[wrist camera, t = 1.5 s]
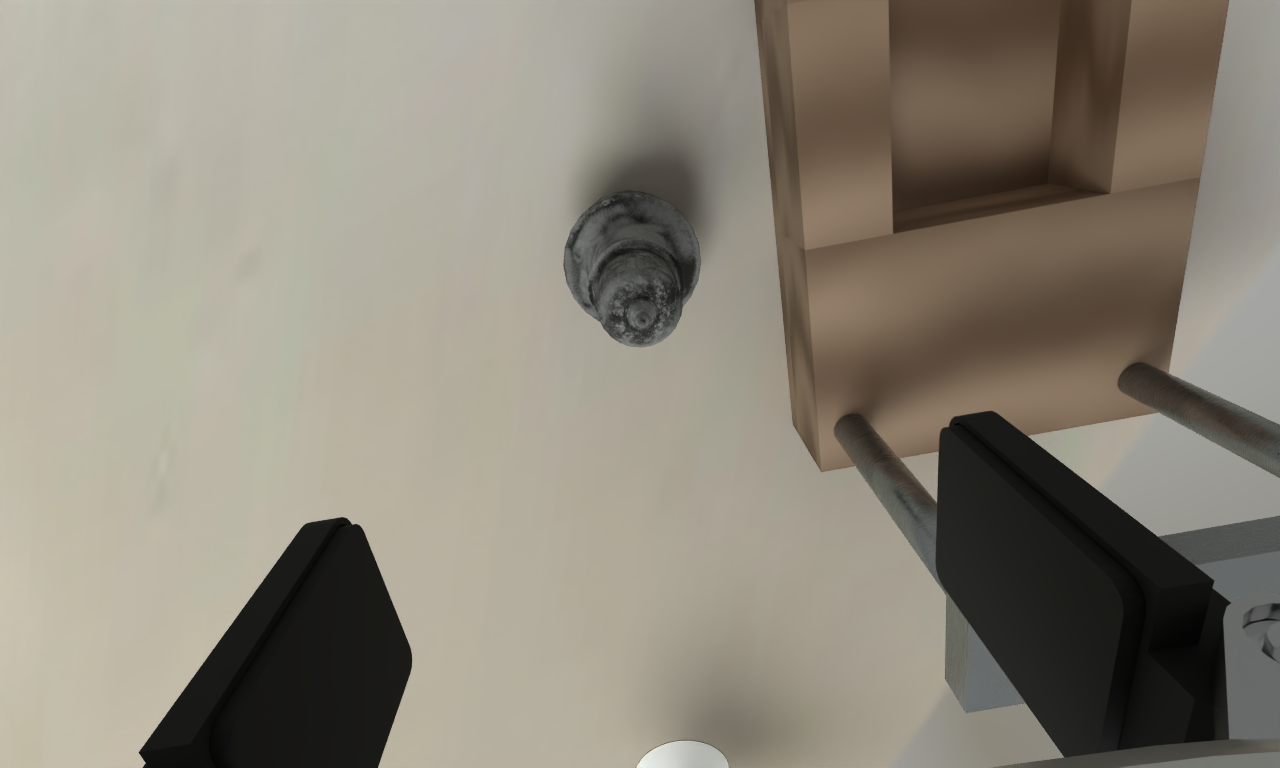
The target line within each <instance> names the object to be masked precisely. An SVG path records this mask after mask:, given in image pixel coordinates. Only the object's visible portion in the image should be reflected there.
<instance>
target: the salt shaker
mask: <svg viewBox="0 0 1280 768" xmlns="http://www.w3.org/2000/svg"><path fill="white" fill-rule="evenodd" d="M700 265H701V259H700V249H699V243H698V241H697V238H696V236H695V233H694V231H693V228H692V227H691V225H690V224H689V223H688V221H687V220H686V219H685V217H684V216H683V215H682V213H681V212H679V211H678V210H677V209H676V208H674V207H673V206H672V205H670V204H669V203H668V202H666V201H664V200H661V199H659V198H657V197H654V196H652V195H648V194H646V193H644V192H635V191H624V192H617V193H613V194H611V195H608V196H606V197H604V198H602V199H600V200H599V201H598V202H596V203H595V204H594V205H593V206H592V207H590V208H589V209H588V210H587V211H586V212H584V213H583V214H582V215H581V217H580V218H579V219H578V221H577V222H576V224H575V225H574V227H573V228H572V229H571V232H570V235H569V237H568V240H567V243H566V246H565V253H564V270H565V276H566V281H567V284H568V286H569V288H570V290H571V292H572V295H573V297H574V299H575V300H576V301H577V302H578V303H579V305H580V306H581V307H582V308H583V309H584V310H585V312H587V313H588V314H589V315H591V316H592V317H594V318H595V319H597V320H598V321H600V322H601V324H602V326H603V328H604V329H605V330H606V332H607V333H608V334H609V335H610V336H611V337H612V338H613V339H615V340H616V341H618V342H619V343H622V344H625V345H627V346H631V347H646V346H652V345H654V344H656V343H659V342H661V341H662V340H664V339H665V338H666V337H668V336H669V335H670V334H671V333H672V331H673V330H674V329H675V328H676V326H677V324H678V322H679V319H680V317H681V313H682V307H683V306H684V304H685V303H686V302H687V301H688V299H689V298H690V297H691V295H692V293H693V291H694V288H695V286H696V284H697V282H698V278H699V272H700Z"/></svg>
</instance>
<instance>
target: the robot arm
mask: <svg viewBox="0 0 1280 768" xmlns="http://www.w3.org/2000/svg"><path fill="white" fill-rule="evenodd" d="M935 563H936V570H937V574H938V577H939V580H940V582H941V584H942V586H943V587H944V589H945V590H946V592H947V593H948V595H949V596H950V597H951V599H952V600H953V602H954V603H955V604H956V606H957V607H958V609H959V610H960V611H961V613H962V614H963V616H964V617H965V618H966V620H967V621H968V623H969V624H970V625H971V627H972V628H973V630H974V631H975V632H976V634H977V635H978V637H979V638H980V639H981V641H982V642H983V644H984V645H985V647H986V648H987V649H988V651H989V652H990V654H991V655H992V656H993V658H994V659H995V661H996V662H997V663H998V665H999V666H1000V668H1001V669H1002V670H1003V672H1004V673H1005V675H1006V676H1007V677H1008V679H1009V680H1010V682H1011V683H1012V684H1013V686H1014V687H1015V689H1016V690H1017V691H1018V693H1019V694H1020V696H1021V697H1022V698H1023V700H1024V701H1025V703H1026V704H1027V705H1028V707H1029V708H1030V710H1031V711H1032V712H1033V714H1034V715H1035V717H1036V718H1037V719H1038V721H1039V722H1040V724H1041V725H1042V727H1043V728H1044V729H1045V731H1046V732H1047V733H1048V735H1049V736H1050V738H1051V739H1052V741H1053V742H1054V743H1055V745H1056V746H1057V748H1058V749H1059V750H1060V752H1061V753H1062V755H1063V756H1064V757H1065V758H1059V759H1051V760H1043V761H1036V762H1028V763H1020V764H1013V765H1007V766H1000V767H993V768H1280V594H1254V595H1249V596H1245V597H1241V598H1238V599H1236V600H1235V601H1234V602H1232V603H1231V602H1230V601H1228V600H1227V599H1226V598H1225V597H1223V596H1222V595H1221V594H1219V593H1218V592H1217V591H1216V590H1214V589H1213V585H1214V581H1215V580H1213V579H1212V578H1211V577H1209V576H1208V575H1207V574H1206V573H1204V572H1203V571H1202V570H1200V569H1199V568H1198V567H1196V566H1195V565H1194V564H1193V563H1191V562H1190V561H1189V560H1187V559H1186V558H1185V557H1183V556H1182V555H1181V554H1180V553H1178V552H1177V551H1176V550H1174V549H1173V548H1172V547H1170V546H1169V545H1168V544H1167V543H1165V542H1164V541H1163V540H1161V539H1160V538H1159V537H1157V536H1156V535H1155V534H1153V533H1152V532H1151V531H1150V530H1148V529H1147V528H1146V527H1144V526H1143V525H1142V524H1140V523H1139V522H1138V521H1137V520H1135V519H1134V518H1133V517H1131V516H1130V515H1129V514H1128V513H1126V512H1125V511H1124V510H1122V509H1121V508H1119V507H1118V506H1117V505H1116V504H1114V503H1113V502H1112V501H1111V500H1109V499H1108V498H1107V497H1105V496H1104V495H1103V494H1102V493H1100V492H1099V491H1098V490H1096V489H1095V488H1094V487H1092V486H1091V485H1090V484H1089V483H1087V482H1086V481H1085V480H1083V479H1082V478H1081V477H1079V476H1078V475H1077V474H1076V473H1074V472H1073V471H1072V470H1070V469H1069V468H1068V467H1066V466H1065V465H1064V464H1063V463H1061V462H1060V461H1059V460H1057V459H1056V458H1055V457H1053V456H1052V455H1051V454H1050V453H1048V452H1047V451H1046V450H1044V449H1043V448H1042V447H1040V446H1039V445H1038V444H1037V443H1035V442H1034V441H1033V440H1031V439H1030V438H1029V437H1028V436H1026V435H1025V434H1024V433H1022V432H1021V431H1020V430H1018V429H1017V428H1016V427H1015V426H1013V425H1012V424H1011V423H1009V422H1008V421H1007V420H1005V419H1004V418H1003V417H1002V416H1000V415H999V414H998V413H996V412H994V411H984V412H978V413H972V414H966V415H960V416H954V417H953V418H952V419H951V421H950V423H949V427H944V428H942V429H941V432H940V436H939V463H938V495H937V527H936V559H935ZM411 668H412V653H411V649H410V645H409V643H408V640H407V638H406V635H405V633H404V630H403V628H402V625H401V623H400V620H399V618H398V615H397V613H396V610H395V608H394V605H393V603H392V601H391V598H390V596H389V593H388V591H387V588H386V586H385V583H384V581H383V578H382V576H381V573H380V571H379V568H378V566H377V563H376V561H375V558H374V556H373V553H372V551H371V548H370V546H369V543H368V541H367V538H366V536H365V533H364V531H363V529H362V528H361V527H360V526H359V525H357V524H353V525H352V524H351V522H350V521H349V520H348V519H347V518H344V517H341V518H335V519H328V520H322V521H316V522H310V523H307V524H305V525H304V526H303V527H302V528H301V529H300V531H299V532H298V533H297V535H296V536H295V538H294V539H293V540H292V542H291V543H290V544H289V546H288V547H287V549H286V550H285V551H284V553H283V554H282V556H281V557H280V558H279V560H278V561H277V562H276V564H275V565H274V567H273V568H272V569H271V571H270V572H269V573H268V575H267V576H266V578H265V579H264V580H263V582H262V583H261V584H260V586H259V587H258V589H257V590H256V591H255V593H254V594H253V596H252V597H251V598H250V600H249V601H248V602H247V604H246V605H245V607H244V608H243V609H242V611H241V612H240V613H239V615H238V616H237V618H236V619H235V620H234V622H233V623H232V625H231V626H230V627H229V629H228V630H227V631H226V633H225V634H224V636H223V637H222V638H221V640H220V641H219V642H218V644H217V645H216V647H215V648H214V649H213V651H212V652H211V653H210V655H209V656H208V658H207V659H206V660H205V662H204V663H203V665H202V666H201V667H200V669H199V670H198V671H197V673H196V674H195V676H194V677H193V678H192V680H191V681H190V682H189V684H188V685H187V687H186V688H185V689H184V691H183V692H182V693H181V695H180V696H179V698H178V699H177V700H176V702H175V703H174V705H173V706H172V707H171V709H170V710H169V711H168V713H167V714H166V716H165V717H164V718H163V720H162V721H161V722H160V724H159V725H158V727H157V728H156V729H155V731H154V732H153V734H152V735H151V736H150V738H149V739H148V740H147V742H146V743H145V745H144V746H143V747H142V749H141V750H140V751H139V754H140V755H141V757H142V758H143V760H144V761H145V762H146V764H145V765H144V767H143V768H378V765H379V763H380V760H381V757H382V754H383V751H384V748H385V745H386V742H387V739H388V736H389V734H390V731H391V728H392V725H393V722H394V719H395V716H396V713H397V710H398V707H399V704H400V702H401V699H402V696H403V693H404V690H405V687H406V684H407V681H408V678H409V675H410V672H411Z"/></svg>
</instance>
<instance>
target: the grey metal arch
mask: <svg viewBox="0 0 1280 768" xmlns="http://www.w3.org/2000/svg"><path fill="white" fill-rule="evenodd" d="M1118 388H1119V390H1120V391H1121V392H1122V393H1124V394H1125V395H1127V396H1129V397H1131V398H1133V399H1135V400H1137V401H1138V402H1140V403H1142V404H1144V405H1146V406H1148V407H1149V408H1151V409H1153V410H1155V411H1157V412H1159V413H1161V414H1162V415H1164V416H1166V417H1168V418H1170V419H1172V420H1174V421H1175V422H1177V423H1179V424H1181V425H1183V426H1185V427H1186V428H1188V429H1190V430H1192V431H1194V432H1196V433H1197V434H1199V435H1201V436H1203V437H1205V438H1207V439H1209V440H1210V441H1212V442H1214V443H1216V444H1218V445H1220V446H1221V447H1223V448H1225V449H1227V450H1229V451H1231V452H1232V453H1234V454H1236V455H1238V456H1240V457H1242V458H1244V459H1245V460H1247V461H1249V462H1251V463H1253V464H1255V465H1256V466H1259V467H1260V468H1262V469H1264V470H1266V471H1268V472H1269V473H1271V474H1273V475H1275V476H1277V477H1279V478H1280V425H1279V424H1277V423H1275V422H1272V421H1270V420H1268V419H1266V418H1264V417H1262V416H1260V415H1257V414H1255V413H1253V412H1251V411H1249V410H1246V409H1244V408H1242V407H1240V406H1238V405H1236V404H1233V403H1232V402H1229V401H1227V400H1225V399H1223V398H1221V397H1219V396H1216V395H1214V394H1212V393H1210V392H1208V391H1206V390H1203V389H1201V388H1199V387H1197V386H1195V385H1193V384H1191V383H1188V382H1186V381H1184V380H1182V379H1180V378H1178V377H1175V376H1173V375H1171V374H1169V373H1167V372H1165V371H1162V370H1160V369H1158V368H1156V367H1154V366H1152V365H1149V364H1147V363H1145V362H1137V363H1134V364H1131V365H1130V366H1128V367H1127V368H1125V369H1124V370H1123V371H1122V373H1121V374H1120V376H1119V378H1118ZM834 436H835V438H836V439H837V441H838V442H839V444H840V445H841V447H842V448H843V449H844V451H845V452H846V454H847V455H848V456H849V458H850V459H851V461H852V462H853V464H854V465H855V466H856V468H857V469H858V471H859V472H860V473H861V475H862V476H863V478H864V479H865V481H866V482H867V483H868V485H869V486H870V488H871V489H872V490H873V492H874V493H875V495H876V496H877V498H878V499H879V500H880V502H881V503H882V505H883V506H884V508H885V509H886V510H887V512H888V513H889V515H890V516H891V517H892V519H893V520H894V522H895V523H896V525H897V526H898V527H899V529H900V530H901V532H902V533H903V534H904V536H905V537H906V539H907V540H908V542H909V543H910V544H911V546H912V547H913V549H914V550H915V551H916V553H917V554H918V556H919V557H920V559H921V560H922V561H923V563H924V564H925V566H926V567H927V569H928V570H929V571H930V573H931V574H932V576H933V577H934V578H935V580H936V581H937V583H938V584H939V586H940V587H941V588H942V590H943V591H944V593H945V594H946V650H945V679H946V681H947V683H948V684H949V686H950V688H951V689H952V691H953V693H954V694H955V696H956V698H957V699H958V701H959V703H960V704H961V706H962V708H963V709H964V711H965V713H969V712H975V711H981V710H987V709H993V708H999V707H1005V706H1012V705H1018V704H1024V703H1025V701H1024V700H1023V698H1022V697H1021V696H1020V694H1019V693H1018V691H1017V690H1016V689H1015V687H1014V686H1013V684H1012V683H1011V682H1010V680H1009V679H1008V677H1007V676H1006V675H1005V673H1004V672H1003V670H1002V669H1001V668H1000V666H999V665H998V663H997V662H996V661H995V659H994V658H993V656H992V655H991V654H990V652H989V651H988V649H987V648H986V647H985V645H984V644H983V642H982V641H981V639H980V638H979V637H978V635H977V634H976V632H975V631H974V630H973V628H972V627H971V625H970V624H969V623H968V621H967V620H966V618H965V617H964V616H963V614H962V613H961V611H960V610H959V609H958V607H957V606H956V604H955V603H954V602H953V600H952V599H951V597H950V596H949V595H948V593H947V592H946V590H945V589H944V587H943V586H942V584H941V582H940V580H939V577H938V574H937V570H936V563H935V559H936V527H937V502H936V501H935V500H934V499H933V498H932V496H931V495H930V494H929V493H928V492H927V490H926V489H925V488H924V487H923V486H922V485H921V483H920V482H919V481H918V480H917V479H916V477H915V476H914V475H913V474H912V473H911V472H910V470H909V469H908V468H907V467H906V466H905V465H904V463H903V462H902V461H901V460H900V459H899V457H898V456H897V455H896V454H895V453H894V452H893V450H892V449H891V448H890V447H889V446H888V444H887V443H886V442H885V441H884V440H883V439H882V437H881V436H880V435H879V434H878V433H877V432H876V430H875V429H874V428H873V427H872V426H871V424H870V423H869V422H868V421H867V420H866V419H865V417H863V416H862V415H860V414H856V413H852V414H847V415H845V416H843V417H841V418H840V419H839V420H838V421H837V423H836V424H835V427H834ZM1159 538H1160V539H1161V540H1163V541H1164V542H1165V543H1167V544H1168V545H1169V546H1170V547H1172V548H1173V549H1174V550H1176V551H1177V552H1178V553H1180V554H1181V555H1182V556H1183V557H1185V558H1186V559H1187V560H1189V561H1190V562H1191V563H1193V564H1194V565H1195V566H1196V567H1198V568H1199V569H1200V570H1202V571H1203V572H1204V573H1206V574H1207V575H1208V576H1209V577H1211V578H1212V579H1213V580H1215V581H1214V585H1213V589H1214V590H1216V591H1217V592H1218V593H1219V594H1221V595H1222V596H1223V597H1225V598H1226V599H1227V600H1228V601H1230V602H1231V603H1232V602H1234V601H1235V600H1236V599H1238V598H1241V597H1245V596H1249V595H1254V594H1280V516H1276V517H1270V518H1265V519H1258V520H1253V521H1246V522H1241V523H1235V524H1229V525H1224V526H1218V527H1212V528H1206V529H1200V530H1194V531H1188V532H1183V533H1177V534H1171V535H1165V536H1159Z"/></svg>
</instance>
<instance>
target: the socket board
mask: <svg viewBox="0 0 1280 768" xmlns="http://www.w3.org/2000/svg"><path fill="white" fill-rule="evenodd" d="M754 2H755V13H756V24H757V35H758V46H759V57H760V68H761V79H762V90H763V101H764V112H765V123H766V134H767V145H768V156H769V167H770V178H771V189H772V200H773V211H774V222H775V233H776V244H777V255H778V266H779V277H780V288H781V299H782V310H783V321H784V332H785V343H786V354H787V365H788V376H789V387H790V398H791V409H792V420H793V425H794V427H795V429H796V431H797V432H798V434H799V436H800V437H801V439H802V441H803V442H804V444H805V446H806V447H807V449H808V451H809V452H810V454H811V456H812V457H813V459H814V461H815V462H816V464H817V466H818V467H819V469H820V471H821V472H824V471H830V470H835V469H841V468H847V467H852V466H855V465H854V464H853V462H852V461H851V459H850V458H849V456H848V455H847V454H846V452H845V451H844V449H843V448H842V447H841V445H840V444H839V442H838V441H837V439H836V438H835V436H834V427H835V424H836V423H837V421H838V420H839V419H840V418H841V417H843V416H845V415H847V414H852V413H856V414H860V415H862V416H863V417H865V419H866V420H867V421H868V422H869V423H870V424H871V426H872V427H873V428H874V429H875V430H876V432H877V433H878V434H879V435H880V436H881V437H882V439H883V440H884V441H885V442H886V443H887V444H888V446H889V447H890V448H891V449H892V450H893V452H894V453H895V454H896V455H897V456H898V457H899V458H903V457H909V456H915V455H920V454H926V453H932V452H937V451H939V436H940V432H941V429H942V428H944V427H949V423H950V421H951V419H952V418H953V417H954V416H960V415H966V414H972V413H978V412H984V411H994V412H996V413H998V414H999V415H1000V416H1002V417H1003V418H1004V419H1005V420H1007V421H1008V422H1009V423H1011V424H1012V425H1013V426H1015V427H1016V428H1017V429H1018V430H1020V431H1021V432H1022V433H1024V434H1025V435H1026V436H1028V435H1034V434H1040V433H1045V432H1051V431H1057V430H1062V429H1068V428H1074V427H1079V426H1085V425H1091V424H1096V423H1102V422H1108V421H1113V420H1119V419H1125V418H1130V417H1136V416H1142V415H1147V414H1153V413H1159V412H1157V411H1155V410H1153V409H1151V408H1149V407H1148V406H1146V405H1144V404H1142V403H1140V402H1138V401H1137V400H1135V399H1133V398H1131V397H1129V396H1127V395H1125V394H1124V393H1122V392H1121V391H1120V390H1119V388H1118V378H1119V376H1120V374H1121V373H1122V371H1123V370H1124V369H1125V368H1127V367H1128V366H1130V365H1131V364H1134V363H1137V362H1145V363H1147V364H1149V365H1152V366H1154V367H1156V368H1158V369H1160V370H1162V371H1165V372H1167V373H1169V367H1170V360H1171V354H1172V348H1173V342H1174V336H1175V330H1176V324H1177V318H1178V311H1179V305H1180V299H1181V293H1182V287H1183V281H1184V275H1185V269H1186V262H1187V256H1188V250H1189V244H1190V238H1191V232H1192V226H1193V219H1194V213H1195V207H1196V201H1197V195H1198V189H1199V183H1200V177H1201V170H1202V164H1203V158H1204V152H1205V146H1206V140H1207V134H1208V128H1209V121H1210V115H1211V109H1212V103H1213V97H1214V91H1215V85H1216V78H1217V72H1218V66H1219V60H1220V54H1221V48H1222V42H1223V36H1224V29H1225V23H1226V17H1227V11H1228V5H1229V0H754Z"/></svg>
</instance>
